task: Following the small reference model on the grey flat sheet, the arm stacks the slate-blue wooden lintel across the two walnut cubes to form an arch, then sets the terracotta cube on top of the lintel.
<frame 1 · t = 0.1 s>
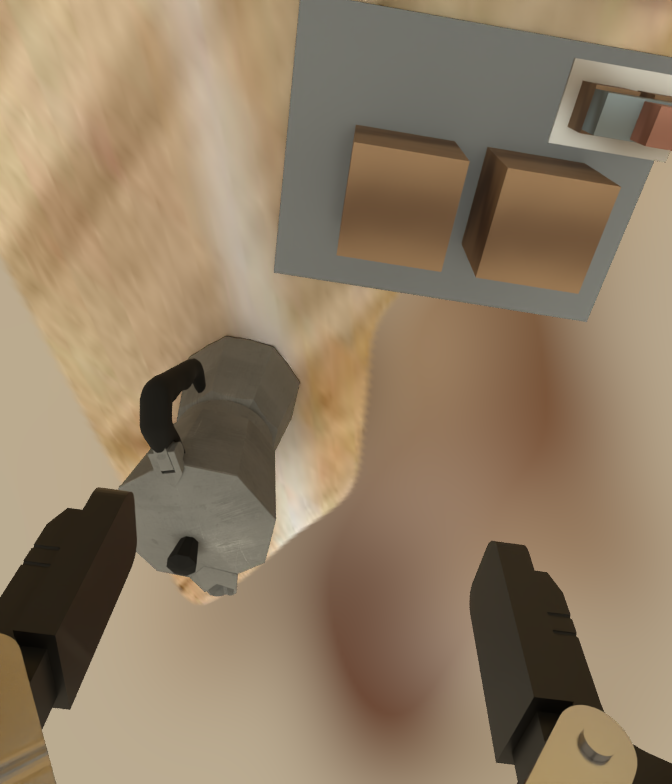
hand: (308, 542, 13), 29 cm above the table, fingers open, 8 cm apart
grey flat sheet: (461, 176, 37), on the table
base cube 2: (520, 205, 37), point 1 cm above the table, touching grey flat sheet
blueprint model: (621, 111, 34), resting on grey flat sheet
base cube 1: (395, 184, 36), point 1 cm above the table, touching grey flat sheet
coffeepot: (239, 373, 45), on the table
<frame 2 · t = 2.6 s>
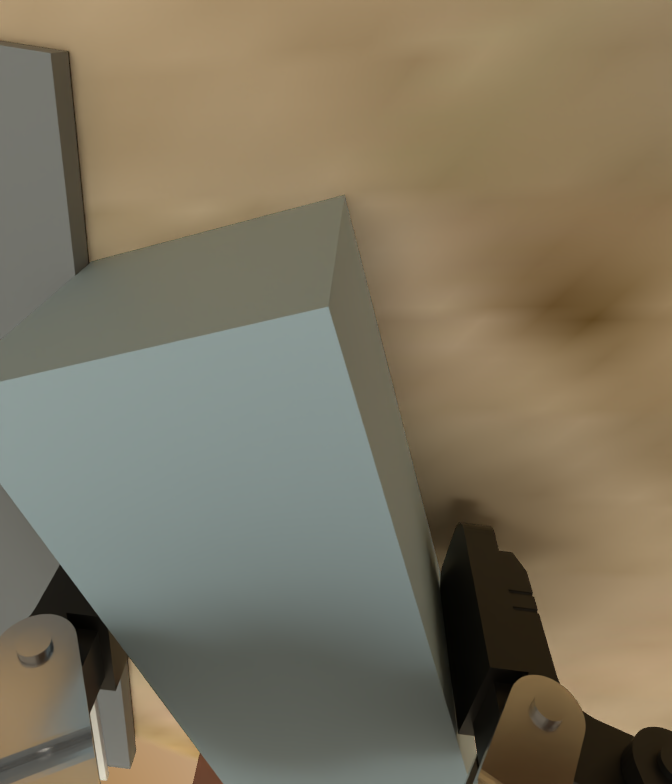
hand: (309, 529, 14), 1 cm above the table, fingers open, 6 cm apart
terracotta cube: (279, 728, 20), on the table
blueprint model: (32, 712, 19), resting on grey flat sheet
lintel: (318, 498, 14), on the table, touching gripper
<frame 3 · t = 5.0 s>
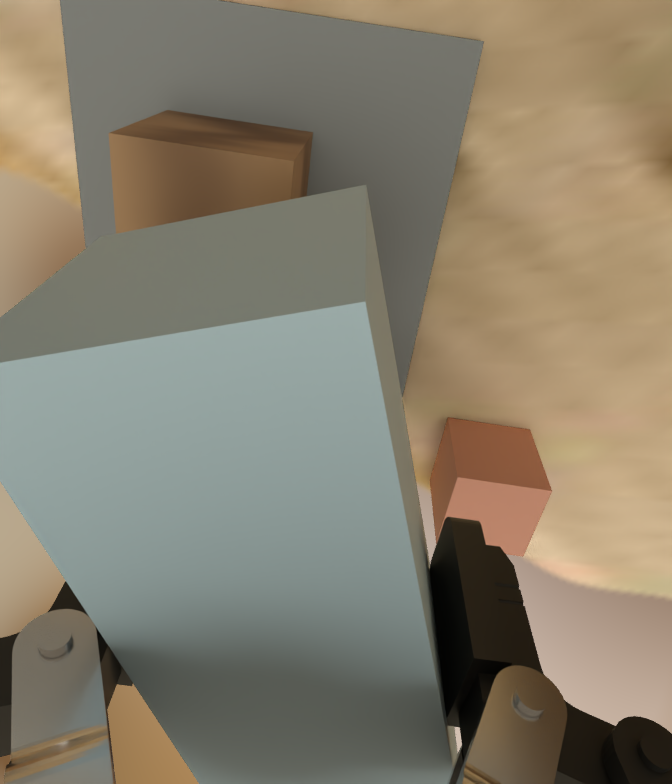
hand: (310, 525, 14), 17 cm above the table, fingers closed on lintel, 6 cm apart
grey flat sheet: (257, 280, 28), on the table
terracotta cube: (477, 455, 33), on the table
base cube 1: (237, 195, 25), point 1 cm above the table, touching grey flat sheet
lintel: (313, 499, 14), point 16 cm above the table, touching gripper
when the fingers open (9 cm above the table, at t = 7.2 s): lintel drops 1 cm, resting on base cube 2, base cube 1.
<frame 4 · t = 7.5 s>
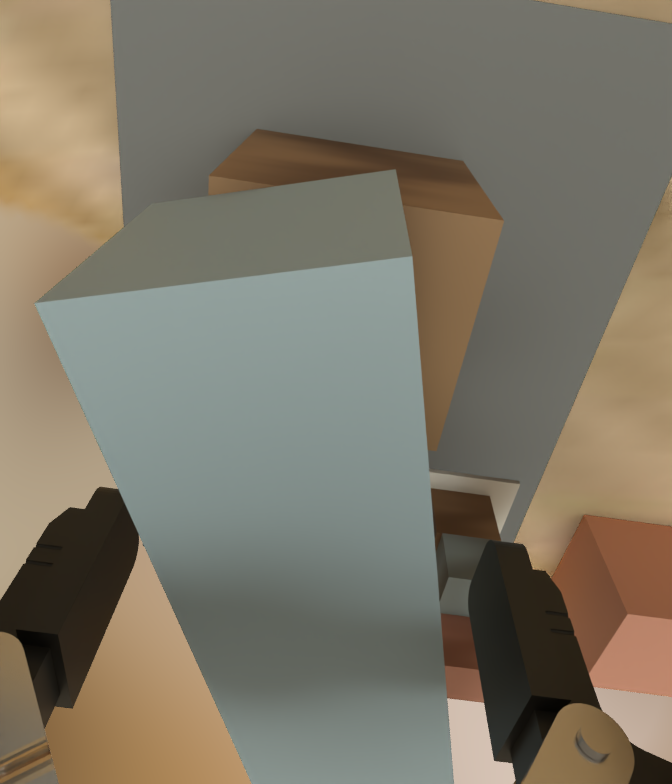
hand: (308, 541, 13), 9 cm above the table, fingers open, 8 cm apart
grey flat sheet: (357, 351, 21), on the table
terracotta cube: (614, 556, 26), on the table
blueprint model: (443, 537, 25), resting on grey flat sheet
base cube 1: (345, 245, 18), point 1 cm above the table, touching lintel, grey flat sheet
lintel: (324, 459, 15), point 7 cm above the table, touching base cube 2, base cube 1
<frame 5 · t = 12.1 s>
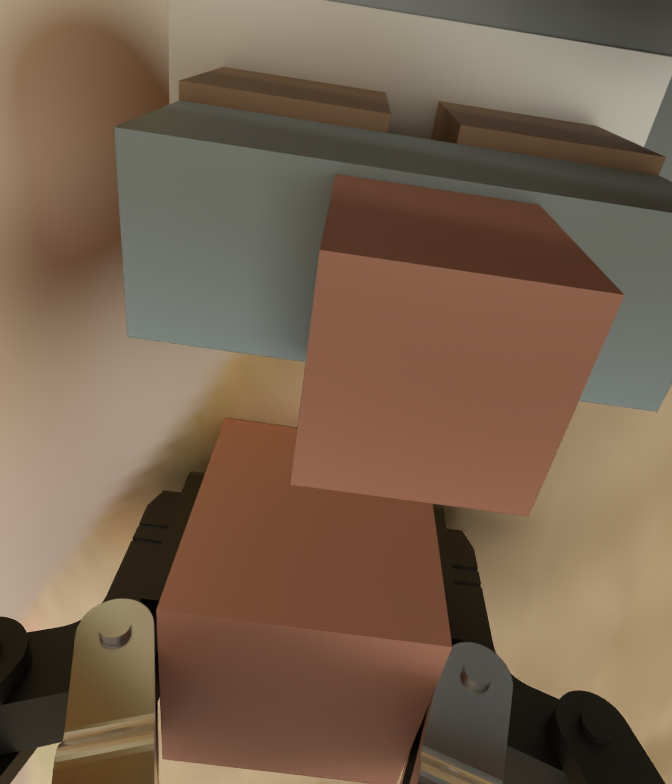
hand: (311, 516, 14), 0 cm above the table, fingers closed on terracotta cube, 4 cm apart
terracotta cube: (313, 505, 14), on the table, touching gripper
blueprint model: (396, 177, 9), resting on grey flat sheet
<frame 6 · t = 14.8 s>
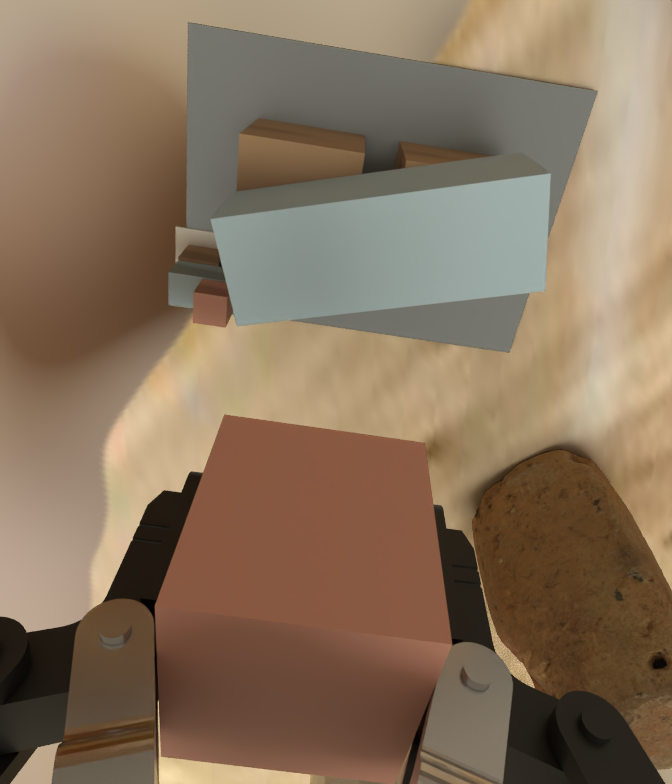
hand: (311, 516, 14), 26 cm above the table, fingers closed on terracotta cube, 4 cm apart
grey flat sheet: (369, 206, 36), on the table
block: (535, 489, 47), on the table
base cube 2: (305, 181, 34), point 1 cm above the table, touching lintel, grey flat sheet
terracotta cube: (313, 502, 14), point 26 cm above the table, touching gripper
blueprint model: (232, 268, 37), resting on grey flat sheet
base cube 1: (439, 202, 35), point 1 cm above the table, touching lintel, grey flat sheet
lintel: (378, 224, 29), point 7 cm above the table, touching base cube 2, base cube 1
when the fingers open (13 cm above the table, at t = 17.8 s): terracotta cube drops 1 cm, resting on lintel.
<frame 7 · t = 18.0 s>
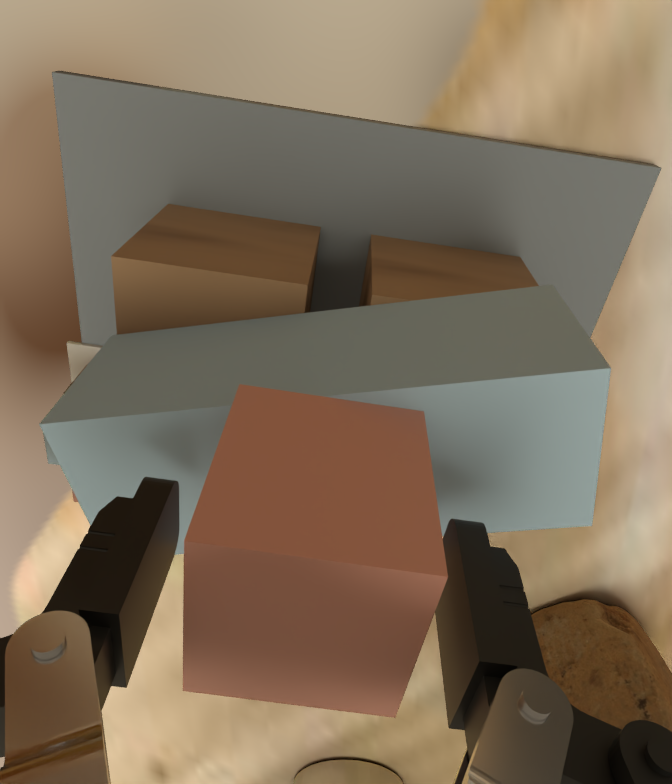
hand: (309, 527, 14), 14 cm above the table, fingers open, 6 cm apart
grey flat sheet: (333, 316, 26), on the table
block: (555, 636, 37), on the table
base cube 2: (241, 286, 24), point 1 cm above the table, touching lintel, grey flat sheet
terracotta cube: (320, 468, 15), point 12 cm above the table, touching lintel
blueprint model: (150, 392, 28), resting on grey flat sheet
base cube 1: (429, 314, 25), point 1 cm above the table, touching lintel, grey flat sheet
lintel: (333, 378, 20), point 7 cm above the table, touching base cube 2, base cube 1, terracotta cube
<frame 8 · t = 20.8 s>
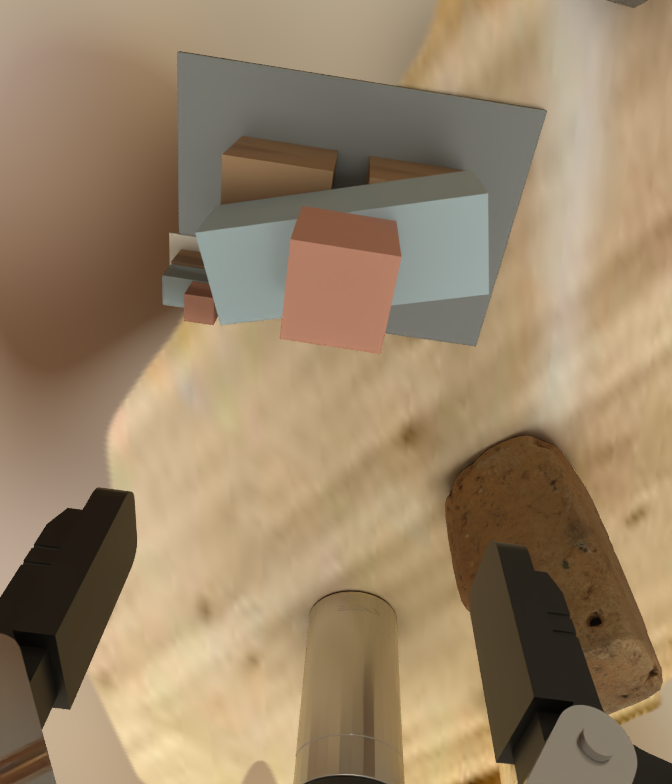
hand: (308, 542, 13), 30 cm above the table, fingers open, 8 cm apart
grey flat sheet: (344, 214, 39), on the table
block: (505, 472, 51), on the table
base cube 2: (285, 192, 38), point 1 cm above the table, touching lintel, grey flat sheet
terracotta cube: (342, 258, 29), point 12 cm above the table, touching lintel
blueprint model: (221, 270, 41), resting on grey flat sheet
base cube 1: (407, 210, 38), point 1 cm above the table, touching lintel, grey flat sheet
lintel: (347, 233, 33), point 7 cm above the table, touching base cube 2, base cube 1, terracotta cube
beer glass: (514, 682, 67), on the table
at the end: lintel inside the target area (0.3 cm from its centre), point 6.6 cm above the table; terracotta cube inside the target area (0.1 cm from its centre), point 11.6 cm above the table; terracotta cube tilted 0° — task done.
